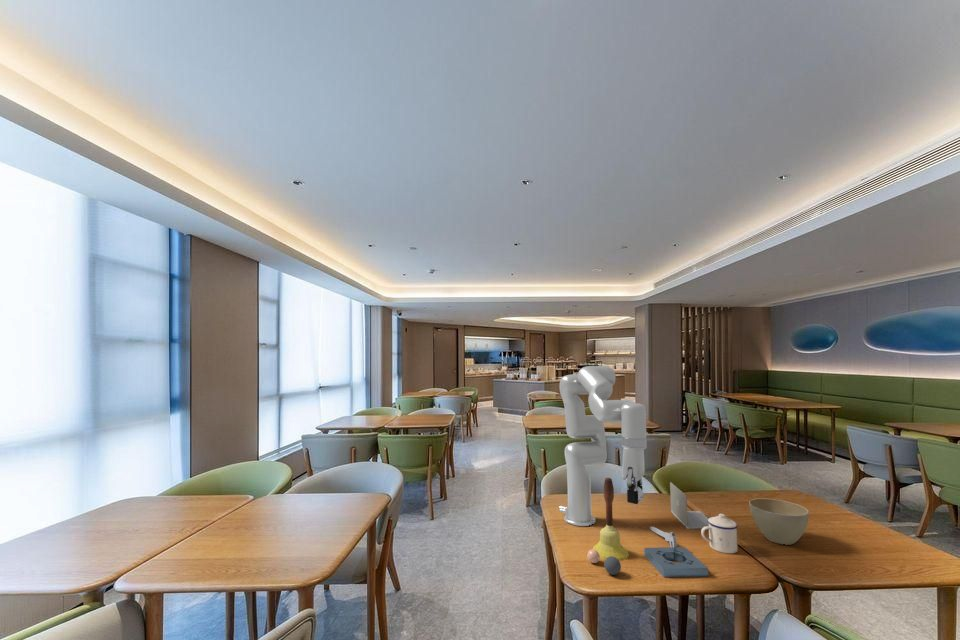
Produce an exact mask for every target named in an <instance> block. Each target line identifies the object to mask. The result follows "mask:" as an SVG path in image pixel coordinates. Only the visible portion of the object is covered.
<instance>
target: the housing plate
mask: <svg viewBox="0 0 960 640" xmlns="http://www.w3.org/2000/svg"><path fill="white" fill-rule="evenodd" d="M643 549H644V550H643V551H644V553H643V555H644V557H645V558H646V559H647V560H648V561H649V562H650V563H651V564H652V566H653V567H654V568H655V569H656V570H657V571H658V573H659V574H660V575H662V577H663V578H682V577H683V578H684V577H685V578H687V577H689V578H690V577H693V578H694V577H709V568H708V567H707V566H706V565H705V563H703V561H700V559H699V558H697V557H696V556H695V555H694V554H693V553H691V551H689V550H688V549H687V548H686V547H685V546H677V547H670V546H666V547H644V548H643ZM674 561H676V562H674Z"/></svg>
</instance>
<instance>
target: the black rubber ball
mask: <svg viewBox="0 0 960 640" xmlns="http://www.w3.org/2000/svg"><path fill="white" fill-rule="evenodd" d="M603 566H604V569H605V571H606V572H607V573H608V574H610V575H613V576H615V575H617V574H619V573H620V572H621V569H622V565H621V562H620V561H619V560H618V559H617V558H615V557H613V556H610V557H607V558H606V559H604V563H603Z"/></svg>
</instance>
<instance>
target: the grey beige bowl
mask: <svg viewBox="0 0 960 640" xmlns="http://www.w3.org/2000/svg"><path fill="white" fill-rule="evenodd" d="M748 504H749V510H750V513H751V515H752V518H753V520H754V523H755V524H756V526H757V528H758V530H759V531H760V532H761V533H762V535H763V536H764V537H765V538H766V539H767V540H769V541H770V542H772V543H776V544H778V543H779V545H783V544H785V545H786V546H787V545H794V544H795V543H796V542H797V541H799V540H800V539H801V538H802V536H803V535H804V533H805V531H806V528H807V526H808V523H809V518H810V517H809V516H810V515H809V509H807V508H806V507H804V506H802V505H800V504H798V503H795V502H794V503H793V502H790V501H787V500H786V501H785V500H780V499H773V498H763V497H761V498H753V499H751V500H749V501H748Z"/></svg>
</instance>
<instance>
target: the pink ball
mask: <svg viewBox="0 0 960 640" xmlns="http://www.w3.org/2000/svg"><path fill="white" fill-rule="evenodd" d="M586 557H587V560H588V561H589V562H590V563H591V564H597V563H598V562H599V561H600V559H601V558H600V555H599V553H598V551H596V550H594V549H592V548H591V549H589V550H588V552H587V556H586Z"/></svg>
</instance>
